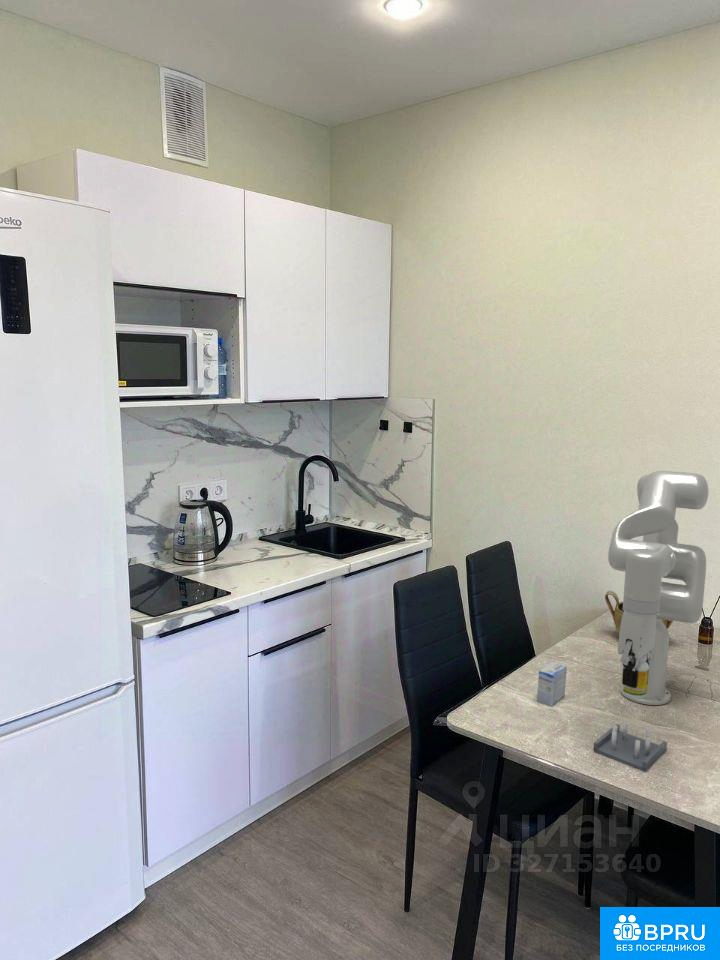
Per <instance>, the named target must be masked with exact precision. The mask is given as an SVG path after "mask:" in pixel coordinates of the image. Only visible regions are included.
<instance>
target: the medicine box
mask: <svg viewBox="0 0 720 960" xmlns="http://www.w3.org/2000/svg"><path fill="white" fill-rule="evenodd" d="M567 669H568V668H567V666H566V665H564V664H560V663H556V662H553V661H552V662H550V663H548V664H547V665H546V666H544V667H543V668H541V670H538V679H537V696H536V697H537V702H538V703H540V704H544V705H547V706H549V707H553V706H554V705H556V704H557V702H558V701H560V700H561V699H563V697H565V692H566V681H567Z"/></svg>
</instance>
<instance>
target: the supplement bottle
mask: <svg viewBox="0 0 720 960" xmlns="http://www.w3.org/2000/svg"><path fill="white" fill-rule="evenodd" d="M630 655H632V656H635V654H633V653H631V654H630ZM629 659H630V661H632V663H634V659H631V658H629ZM646 660H647V654H645V655H644V656H643V657H641V658H639V660H638V665H637V671H638V681H637V687H636V688H632V687H629V686H626V685H623V684H622V683H621V685H622V692H623V693H624V694H625V695H627V696H630V697H633V698H643V697H645V696H646V695H647V686H648V675H649V665H648V663H647V662H645V661H646Z"/></svg>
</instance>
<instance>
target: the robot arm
mask: <svg viewBox="0 0 720 960" xmlns="http://www.w3.org/2000/svg"><path fill="white" fill-rule="evenodd" d="M636 485H637V486H636V487H637V488H636V490H637V491H636V493H637V499H638V504H639V505H638V509H637V510H635V511H633V512H631V513H630V514H628V515H626V516H625V517H624V518H623V519H621V520H620V521H619V522H618V523H617V524H616V526H615V528H614V530H613V532H612V536H611V538H610V543H609V547H608V553H607V555H608V556H607V559H608V563H609V565H610V567H611V568H612V569H614V570H615V571H618V572H624V573H625V574H624V584H623V585H624V588H623V600H622V601H623V610H624V613H623V617H622V621H621V626H620V633H618V634H619V635H618V642H617V643H618V644H617V654H618V655H621V657H620V661H621V663H622V676H621V677H622V678H621V685H620V690H619V691H620V693H621V694H622V695H623V696H624V697H625V698H626V699H628V700H631V701H632V702H636V703H637V704H641V705H642V704H643V705H646V706H647V705H650V706H661V705H666V704H668V703H669V702H670V701H671V697H672V694H671V692H670V691H669V690H668V689H667V688H666V684H667V683H666V680H667V678H668V674H667V669H668V658H669V657H668V656H669V645H670V633H669V630H668V629H667V628H666V626H665V625H664V623H663V622H662V620H661V619H666V620H669V621H670V620H673V622H678V623H679V622H680V623H687V624H695V623H697V622H698V621H700V619H701V616H702V613H703V607H704V598H705V597H704V596H705V587H706V586H705V584H706V574H707V573H706V572H707V556H706V554H705V553H706V552H705V551H704V550H703V548H701V547H699V546H697V545H692V544H686V543H685V544H684V543H678V536H679V535H678V534H679V524H678V522H677V520H676V519H675V518H676V511H677V509H688V510H699V511H700V510H701V509H703V508H704V507H705V506H706V504H707V501H708V499H709V486H708V481H707V480H706V478H705V477H704V476H703V475H701V474H699V473H696V472H695V473H694V472H682V471H670V470H668V471H667V470H657V471H653V472H651V473H649V474H645V475H642V476H641V477H640V478H639V480H638V481H637V484H636ZM639 537H642V540H638V539H637V540H636V539H635V538H639ZM663 578H664V579H668V580H669V579H671V580H678V581H682V582H684V583H685V584H682V583H681V584H678V583H671V582H667V581H666V582H665V581H662V579H663ZM631 653H633V654H635V656H632V655H630V654H631ZM645 654H647V660H646V661H645V662H647V663H648V665H649V675H648V686H647V695H646V696H645V697H643V698H633V697H630V696H627V695H625V694H624V693H623V692H622V684H623V685H626V686H629V687H632V688H636V687H637V681H638V671H637V665H638V660H639V658H641V657H643V656H644V655H645ZM629 658H631V659H634V663H632V661H630V659H629Z"/></svg>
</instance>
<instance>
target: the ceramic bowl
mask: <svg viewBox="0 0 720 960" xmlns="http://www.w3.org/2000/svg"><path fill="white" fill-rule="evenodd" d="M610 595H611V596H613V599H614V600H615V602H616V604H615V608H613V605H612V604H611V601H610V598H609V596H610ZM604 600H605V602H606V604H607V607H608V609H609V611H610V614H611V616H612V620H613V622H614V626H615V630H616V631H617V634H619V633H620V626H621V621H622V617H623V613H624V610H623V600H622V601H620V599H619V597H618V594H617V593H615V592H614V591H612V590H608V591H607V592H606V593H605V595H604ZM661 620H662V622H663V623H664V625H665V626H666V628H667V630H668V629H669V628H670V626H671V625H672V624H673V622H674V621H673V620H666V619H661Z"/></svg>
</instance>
